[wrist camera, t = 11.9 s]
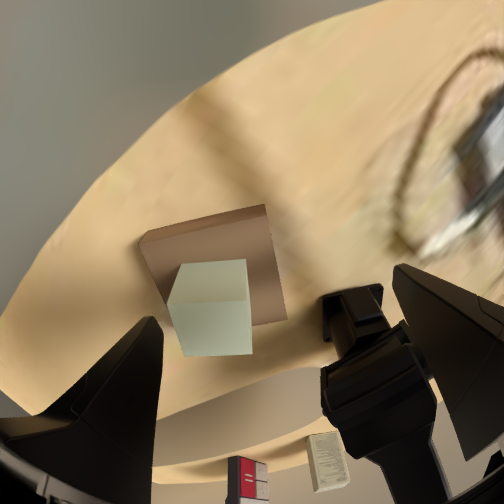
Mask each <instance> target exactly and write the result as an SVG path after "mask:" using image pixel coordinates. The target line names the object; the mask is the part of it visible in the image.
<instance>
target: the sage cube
mask: <svg viewBox="0 0 504 504" xmlns="http://www.w3.org/2000/svg"><path fill="white" fill-rule="evenodd" d="M167 307H168V310H169V313H170V316H171V319H172V322H173V325H174V328H175V331H176V334H177V337H178V340H179V342H180V345H181V348H182V351H183V353H184V356H226V355H246V354H253V353H252V323H251V305H250V295H249V285H248V275H247V265H246V259H239V260H226V261H213V262H200V263H187V264H181V266H180V269H179V272H178V274H177V277H176V280H175V282H174V285H173V288H172V291H171V293H170V296H169V299H168V302H167Z"/></svg>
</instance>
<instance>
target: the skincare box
mask: <svg viewBox="0 0 504 504" xmlns="http://www.w3.org/2000/svg"><path fill="white" fill-rule="evenodd" d="M306 448H307V454H308V460H309V466H310V472H311V477H312V484H313V489H314V493H316V492H321V491H327V490H332V489H336V488H341V487H345V486H346V485H348V484H349V483H350V482H351V480H350V476H349V472H348V468H347V463H346V459H345V456H344V451H343V447H342V443H341V439H340V435H339V431H335V432H329V433H323V434H316V435H309V437H308V438H307V441H306Z"/></svg>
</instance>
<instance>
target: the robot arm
mask: <svg viewBox="0 0 504 504" xmlns="http://www.w3.org/2000/svg"><path fill="white" fill-rule="evenodd" d="M392 287H393V290H394V293H395V295H396V297H397V300H398V302H399V305H400V307H401V309H402V312H403V314H404V317H405V319H406V322H407V323H406V322H405V320H404V319H403V320H401V321H400V322H399V323H398V324H397V325H395V326H394V327H392V328H391V326H390V324H389V323H388V321H387V319H386V317H385V316H384V314H383V311H382V310H381V306H382V298H383V290H384V288H383V286H382V285H381V284H380V283H379V284H374V285H370V286H365V287H361V288H357V289H352V290H347V291H343V292H338V293H333V294H328V295H325V296H323V297H322V322H323V340H324V342H332V341H333V343H334V346H335V349H336V352H337V355H338V359H339V360H338V361H336V362H334V363H332V364H331V365H329V366H325V367H323V368H321V376H320V382H321V407H322V408H323V410H322V412H323V415H324V416H326V417H327V418H328V420H329V421H330V423H331V424H332V425H333V426H334V427H335V428H338V430H339V432H340V435H341V438H342V441H343V443H344V446H345V449H346V452H347V453H348V454H350V455H351V456H352V457H353V458H354V459H360V458H362V457H365V458H367V459H368V460H370V461H372V462H373V463H375V464H377V465H379V466H380V468H381V470H382V472H383V474H384V477H385V479H386V482H387V484H388V487H389V490H390V492H391V495H392V497H393V500H394V502H395V504H504V307H503V306H500V305H498V304H495V303H493V302H491V301H489V300H487V299H484V298H482V297H480V296H477V295H476V294H474V293H472V292H469V291H467V290H465V289H463V288H461V287H458V286H456V285H454V284H452V283H449V282H447V281H445V280H443V279H440V278H438V277H436V276H434V275H431V274H429V273H427V272H424V271H422V270H419V269H417V268H415V267H412V266H410V265H408V264H405V263H402V264H399V265H395V266H394V269H393V281H392ZM378 288H379V289H378ZM377 289H378V290H377ZM327 299H329V300H328V301H326V300H327ZM407 324H408V325H407ZM163 345H164V334H163V331H162V329H161V327H160V326H159V324H158V322H157V320H156V319H155V317H153V316H148V317H143V318H142V319H141V320H140V321H139V322H138V323H137V324H136V325H135V326H134V327H133V328H131V329H130V330H129V331H128V332H127V333H126V334H125V335H124V336H123V337H122V338H121V339H120V340H119V341H118V342H117V343H116V344H115V345H114V346H113V347H112V348H111V349H110V350H109V351H108V352H107V353H106V354H104V355H103V356H102V357H101V358H100V359H99V360H98V361H97V362H96V363H95V364H94V365H93V366H92V367H91V368H90V369H89V370H88V371H87V373H85V374H84V375H83V376H82V377H81V378H80V379H79V380H78V381H77V382H76V383H75V384H74V385H73V386H72V387H71V388H70V389H68V390H67V391H66V392H65V393H64V394H63V395H62V396H61V397H59V398H58V399H57V400H56V401H55V402H54V403H53V404H51V405H50V406H49V407H48V408H47V409H46V410H44V411H43V412H41V413H40V414H37V415H34V416H28V417H13V418H0V448H2V449H3V450H2V453H1V456H0V504H151V484H152V468H151V467H152V464H153V463H152V462H153V450H154V438H155V427H156V418H157V409H158V400H159V392H160V385H161V377H162V368H163ZM432 378H434V379H435V381H436V383H437V386H438V388H439V390H440V393H441V395H442V397H443V400H444V402H445V405H446V407H447V410H448V412H449V414H450V418H451V420H452V423H453V426H454V428H455V431H456V434H457V437H458V440H459V443H460V446H461V449H462V452H463V455H464V458H465V461H468V460H470V459H472V458H473V457H475V456H476V455H478V454H479V453H481V452H482V451H484V450H485V449H487V448H488V447H490V446H491V445H492V444H494V443H495V442H498V444H499V447H500V450H499V451H497V452H496V453H495V454H493V455H492V456H491V458H490V461H489V464H488V466H487V469H486V472H485V474H484V476H483V479H482V480H481V481H479V482H478V483H476V484H474V485H473V486H471V487H470V488H468V489H467V490H465V491H463V492H462V493H460V494H458V495H457V496H455V497H453V496H452V493H451V490H450V486H449V483H448V481H447V478H446V475H445V472H444V469H443V466H442V464H441V461H440V458H439V456H438V453H437V450H436V448H435V445H434V443H433V440H432V438H431V437H432V432H433V427H434V422H435V417H436V409H437V399H436V396H435V394H434V392H433V390H432V388H431V386H430V383H429V380H431V379H432Z"/></svg>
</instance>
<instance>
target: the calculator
mask: <svg viewBox="0 0 504 504" xmlns="http://www.w3.org/2000/svg"><path fill="white" fill-rule="evenodd" d="M267 481H268V468H267V465H266V464H263V463H260V462H256V461H253V460H250V459H247V458H244V457H241V456H235V457H230V458H228V496H227V498H226V500H225V504H269V500H268V499H269V486H268V483H267Z"/></svg>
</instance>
